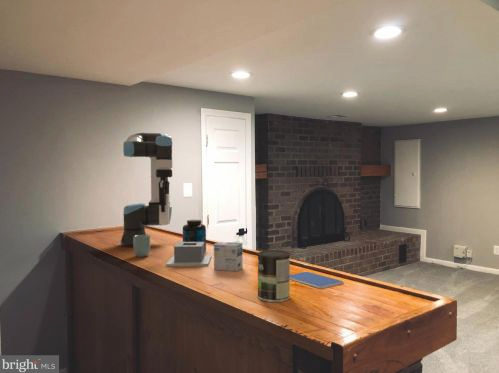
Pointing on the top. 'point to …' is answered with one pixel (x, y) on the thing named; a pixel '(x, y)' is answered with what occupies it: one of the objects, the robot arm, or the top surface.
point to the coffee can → (273, 275)
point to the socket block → (189, 255)
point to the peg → (167, 220)
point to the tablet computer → (315, 280)
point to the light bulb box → (228, 256)
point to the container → (194, 232)
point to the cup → (141, 245)
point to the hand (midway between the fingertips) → (164, 218)
